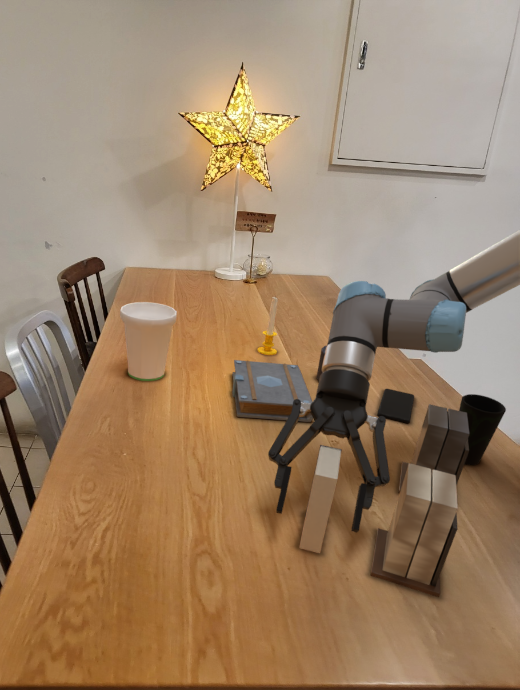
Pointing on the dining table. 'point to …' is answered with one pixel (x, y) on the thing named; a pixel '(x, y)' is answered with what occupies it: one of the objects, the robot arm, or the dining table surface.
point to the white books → (418, 531)
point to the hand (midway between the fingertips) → (316, 521)
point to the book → (268, 390)
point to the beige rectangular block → (320, 498)
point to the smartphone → (396, 405)
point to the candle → (270, 331)
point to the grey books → (441, 442)
